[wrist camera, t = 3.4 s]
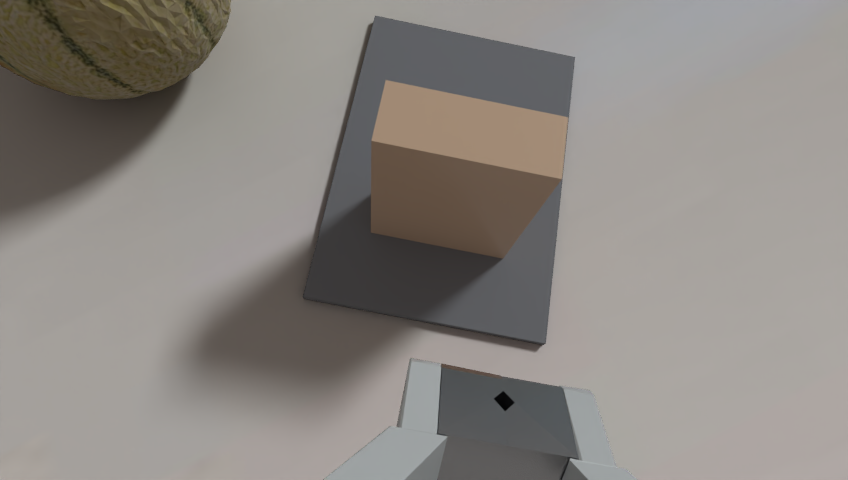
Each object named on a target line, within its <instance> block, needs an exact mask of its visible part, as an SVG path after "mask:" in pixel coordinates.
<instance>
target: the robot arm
mask: <svg viewBox="0 0 848 480" xmlns="http://www.w3.org/2000/svg"><path fill="white" fill-rule="evenodd" d="M323 480H637V479H636V478H635V477H634V476H633V475H632V474H631V473H630V472H629V471H628V470H627V469H625V468H619V467H617V466H616V463H615V460H614V456H613V453H612V450H611V447H610V444H609V441H608V437H607V434H606V431H605V428H604V425H603V421H602V418H601V415H600V412H599V409H598V406H597V402H596V399H595V396H594V394H593V393H592V392H591V391H590V390H585V389H579V388H572V387H565V386H559V387H558V386H553V385H547V384H541V383H536V382H530V381H524V380H519V379H513V378H508V377H502V376H499V375H495V374H490V373H485V372H480V371H475V370H470V369H465V368H460V367H455V366H451V365H446V364H441V365H440V363H435V362H430V361H424V360H419V359H414V358H411V359H410V362H409V366H408V371H407V376H406V381H405V386H404V391H403V396H402V401H401V406H400V411H399V416H398V421H397V427H393V426H389V427H388V428H387V429H386V430H384V431H383V432H382V433H381V434H379V435H378V436H377V437H376V438H374V439H373V440H372V441H371V442H369V443H368V444H367V445H366V446H365V447H363V448H362V449H361V450H360V451H358V452H357V453H356V454H355V455H353V456H352V457H351V458H350V459H348V460H347V461H346V462H345V463H343V464H342V465H341V466H340V467H338V468H337V469H336V470H335V471H333V472H332V473H331V474H330V475H328V476H327V477H326V478H325V479H323Z"/></svg>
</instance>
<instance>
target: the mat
mask: <svg viewBox="0 0 848 480" xmlns="http://www.w3.org/2000/svg"><path fill="white" fill-rule="evenodd" d="M574 60H575V57H571V56H567V55H562V54H557V53H552V52H547V51H543V50H538V49H533V48H528V47H523V46H518V45H514V44H509V43H504V42H499V41H494V40H490V39H485V38H480V37H475V36H470V35H466V34H461V33H456V32H451V31H446V30H441V29H437V28H432V27H427V26H422V25H417V24H413V23H408V22H403V21H398V20H393V19H388V18H384V17H379V16H375V18H374V22H373V26H372V30H371V33H370V37H369V41H368V45H367V49H366V53H365V57H364V61H363V65H362V68H361V72H360V76H359V80H358V84H357V88H356V92H355V96H354V100H353V104H352V107H351V111H350V115H349V119H348V123H347V127H346V131H345V135H344V139H343V142H342V146H341V150H340V154H339V158H338V162H337V166H336V170H335V174H334V178H333V181H332V185H331V189H330V193H329V197H328V201H327V205H326V209H325V213H324V216H323V220H322V224H321V228H320V232H319V236H318V240H317V244H316V248H315V252H314V255H313V259H312V263H311V267H310V271H309V275H308V279H307V283H306V287H305V290H304V294H303V298H304V299H309V300H314V301H319V302H324V303H329V304H334V305H340V306H345V307H350V308H355V309H360V310H365V311H371V312H376V313H381V314H386V315H391V316H396V317H402V318H407V319H412V320H417V321H422V322H427V323H433V324H438V325H443V326H448V327H453V328H458V329H464V330H469V331H474V332H479V333H484V334H489V335H495V336H500V337H505V338H510V339H515V340H520V341H525V342H531V343H536V344H541V345H544V344H546V335H547V325H548V315H549V305H550V296H551V286H552V276H553V266H554V256H555V247H556V237H557V227H558V217H559V207H560V198H561V188H562V180H561V181H560V182H559V184H558V185H557V187H556V188H555V189H554V191H553V192H552V193H551V195H550V196H549V197H548V199H547V200H546V201H545V203H544V204H543V205H542V207H541V208H540V209H539V211H538V212H537V214H536V215H535V216H534V218H533V219H532V220H531V222H530V223H529V224H528V226H527V227H526V228H525V230H524V231H523V232H522V234H521V235H520V236H519V238H518V239H517V241H516V242H515V243H514V245H513V246H512V247H511V249H510V250H509V251H508V253H507V254H506V255H505V257H504V258H503V259H502V258H497V257H492V256H487V255H482V254H477V253H472V252H467V251H462V250H457V249H451V248H446V247H441V246H436V245H431V244H426V243H421V242H416V241H411V240H406V239H401V238H396V237H391V236H386V235H381V234H375V233H371V140H372V136H373V132H374V127H375V123H376V119H377V115H378V111H379V106H380V102H381V98H382V94H383V89H384V85H385V81H386V80H388V81H393V82H398V83H403V84H408V85H413V86H418V87H423V88H427V89H432V90H437V91H442V92H447V93H452V94H457V95H462V96H467V97H471V98H476V99H481V100H486V101H491V102H496V103H501V104H506V105H510V106H515V107H520V108H525V109H530V110H535V111H540V112H545V113H550V114H554V115H559V116H564V117H568V119H569V109H570V100H571V90H572V80H573V70H574ZM567 129H568V125H567ZM566 139H567V135H566ZM565 149H566V144H565ZM564 158H565V154H564ZM563 168H564V164H563ZM562 178H563V174H562Z"/></svg>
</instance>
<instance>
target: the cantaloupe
mask: <svg viewBox="0 0 848 480" xmlns="http://www.w3.org/2000/svg"><path fill="white" fill-rule="evenodd" d="M230 2H231V0H0V65H1V66H2V67H5V68H7V69H9V70H10V71H11V72H13V73H14V74H17V75H19V76H21V77H24V78H26V79H27V80H29V81H31V82H33V83H34V84H38V85H40V86H44V87H47V88H50V89H53V90H56V91H60V92H63V93H66V94H68V95H72V96H81V97H86V98H90V99H126V98H134V97H138V96H141V95H144V94H147V93H149V92H156V91H161V90H163V89H164V88H167V87H169V86H172V85H174V84H175V83H177V82H178V81H180V80H182V79H184V78H186V77H187V76H188V75H189V74H190V73H191V72H193V71H194V70H196V69H197V68H199V67H200V65H201V64H202V63H203V62H204V61H205V60H206V59H207V57H208V56H209V54H210V52H211V51H212V49H213V48H214V46H215V45H216V44H217V43H218V41H219V40H220V38H221V36H222V34H223V32H224V30H225V28H226V26H227V22H228V19H229V15H230V12H231V9H230Z"/></svg>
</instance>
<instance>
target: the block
mask: <svg viewBox="0 0 848 480" xmlns="http://www.w3.org/2000/svg"><path fill="white" fill-rule="evenodd" d="M567 125H568V117H564V116H559V115H554V114H550V113H545V112H540V111H535V110H530V109H525V108H520V107H515V106H510V105H506V104H501V103H496V102H491V101H486V100H481V99H476V98H471V97H467V96H462V95H457V94H452V93H447V92H442V91H437V90H432V89H427V88H423V87H418V86H413V85H408V84H403V83H398V82H393V81H388V80H386V81H385V85H384V89H383V94H382V98H381V102H380V106H379V111H378V115H377V119H376V123H375V127H374V132H373V136H372V140H371V233H375V234H381V235H386V236H391V237H396V238H401V239H406V240H411V241H416V242H421V243H426V244H431V245H436V246H441V247H446V248H451V249H457V250H462V251H467V252H472V253H477V254H482V255H487V256H492V257H497V258H502V259H503V258H504V257H505V255H506V254H507V253H508V251H509V250H510V249H511V247H512V246H513V245H514V243H515V242H516V241H517V239H518V238H519V236H520V235H521V234H522V232H523V231H524V230H525V228H526V227H527V226H528V224H529V223H530V222H531V220H532V219H533V218H534V216H535V215H536V214H537V212H538V211H539V209H540V208H541V207H542V205H543V204H544V203H545V201H546V200H547V199H548V197H549V196H550V195H551V193H552V192H553V191H554V189H555V188H556V187H557V185H558V184H559V182H560V181H561V180H562V174H563V164H564V154H565V144H566V135H567Z"/></svg>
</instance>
